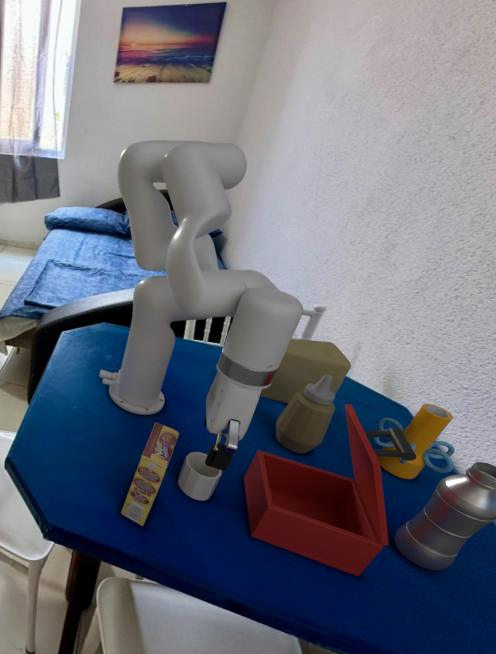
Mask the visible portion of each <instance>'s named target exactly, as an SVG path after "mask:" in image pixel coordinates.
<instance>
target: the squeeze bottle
mask: <svg viewBox="0 0 496 654" xmlns="http://www.w3.org/2000/svg"><path fill="white" fill-rule="evenodd" d="M332 378H333V377H332V376H331V375H328V374H326V375H324V376H323V377H322V378H321V379H320V380H319V381H318V382H317V383H316V384H308V385H307V386H306V388H305V390H301V391H298V392H297V393H296V394H295V395H294V397H293V398H292V400H291V401H290V402H289V404H288V403H287V405H286V406H285V408H284V410H282V412H281V413H280V415H279V416H278V418H277V419H276V421H275V437H276V440H277V441H278V443H279V444H280V445H282V446H283V447H284V448H285V449H287V450H289V451H290V452H293V453H296V454H306V453H308V452H310V451H312V450H313V449H315V448H316V447H318V446H320V445H321V444H322V443H323V441H324V437H325V435H326V432H327V430H328V428H329V425H330V424H331V420H332V418H333V415H334V413H335V410H336V405H334V403H333V402H334V400H335V398H336V394H335V395H334V393H333V392H332V391H331V390H330V388H331V383H332Z"/></svg>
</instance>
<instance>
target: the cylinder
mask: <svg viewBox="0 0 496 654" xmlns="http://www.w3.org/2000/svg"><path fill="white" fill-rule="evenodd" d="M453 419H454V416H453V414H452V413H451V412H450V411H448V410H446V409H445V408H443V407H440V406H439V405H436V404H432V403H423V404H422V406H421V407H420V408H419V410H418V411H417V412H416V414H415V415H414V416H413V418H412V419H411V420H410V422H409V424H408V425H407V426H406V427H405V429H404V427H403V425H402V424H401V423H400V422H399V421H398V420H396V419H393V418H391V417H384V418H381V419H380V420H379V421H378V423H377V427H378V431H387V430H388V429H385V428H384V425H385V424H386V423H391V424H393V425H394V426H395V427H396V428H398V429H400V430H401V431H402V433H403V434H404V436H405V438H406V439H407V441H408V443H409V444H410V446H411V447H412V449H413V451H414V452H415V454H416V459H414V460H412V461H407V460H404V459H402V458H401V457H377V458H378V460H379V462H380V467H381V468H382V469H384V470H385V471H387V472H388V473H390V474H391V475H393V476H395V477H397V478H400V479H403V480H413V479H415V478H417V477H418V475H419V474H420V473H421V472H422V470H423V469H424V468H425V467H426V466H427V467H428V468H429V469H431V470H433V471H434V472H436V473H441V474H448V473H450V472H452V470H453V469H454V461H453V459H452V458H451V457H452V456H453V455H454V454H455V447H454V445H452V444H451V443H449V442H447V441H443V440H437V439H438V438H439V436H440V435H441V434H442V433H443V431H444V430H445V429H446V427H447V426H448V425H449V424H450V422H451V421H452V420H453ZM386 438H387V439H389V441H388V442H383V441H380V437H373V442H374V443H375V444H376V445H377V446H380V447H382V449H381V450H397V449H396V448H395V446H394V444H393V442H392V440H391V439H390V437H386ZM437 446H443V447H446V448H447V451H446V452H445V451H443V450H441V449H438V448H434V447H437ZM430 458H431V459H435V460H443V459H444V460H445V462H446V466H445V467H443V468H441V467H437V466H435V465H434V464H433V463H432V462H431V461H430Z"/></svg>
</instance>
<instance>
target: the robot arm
mask: <svg viewBox="0 0 496 654" xmlns="http://www.w3.org/2000/svg"><path fill="white" fill-rule="evenodd" d="M247 162H248V161H247V158H246V155H245V152H244V151H243V150H242V149H241V148H240V147H239V146H238V145H237V144H234V143H231V142H210V141H199V140H165V139H164V140H162V139H161V140H160V139H159V140H158V139H154V140H153V139H151V140H141V141H137V142H134V143H132V144H131V143H130V144H129V145H128V146H127V147H125V149H124V150H123V151H122V152H121V154H120V157H119V160H118V164H117V184H118V185H117V186H118V190H119V192H120V196H121V199H122V201H123V203H124V206H125V209H126V212H127V215H128V220H129V222H128V223H129V229H130V235H131V241H132V247H133V253H134V259H135V262H136V264H137V266H138V267H139V269H141V270H143V271H150V272H166V274H165V275H153V276H149V277H146V278H143V279H142V280H140V281H139V282H138V283H137V284H136V286H135V287H134V290H133V295H132V296H133V297H132V316H131V317H132V318H131V323H130V328H129V332H128V336H127V340H126V345H125V349H124V354H123V357H122V363H121V365H120V366H121V368H120V369H118V372H111V371H108V370H104V369H100V371H99V375H98V377H99V378H102V383H101V384H103V385H107V386H109V387H108V394H109V397H110V398H111V399H112V401H113V402H114V403H115V404H116V405H117V406H119V408H121V409H123V410H125V411H126V412H127V411H128V412H129V413H133V414H135V415H143V416H147V415H154V414H157V413H159V412H160V411H161V410H163V407H164V405H165V403H166V402H165V400H166V399H165V395H164V394H163V392H162V390H161V389H162V387H163V384H164V380H165V377H166V373H167V371H168V367H169V364H170V361H171V357H172V355H173V351H174V348H175V344H176V335H175V333H174V330H173V329H172V327H171V324H172V323H173V322H181V321H198V320H199V321H201V320H208V319H209V320H210V319H212V318H226V317H228V318H232V322H231V324H230V326H229V329H228V332H227V335H226V337H225V340H224V341H225V342H224V344H223V346H222V349H221V352H220V355H219V357H218V360H217V363H216V365H215V366H216V370H217V371H216V374H215V376H214V378H213V381H212V383H211V385H210V388H209V390H208V392H207V395H206V398H205V418H204V421H203V426H204V427H206V428H207V431H208V432H209V433H210V434H214V435H215V437H214V442H213V445H210V448H209V450H208V453H207V457H206V460H205V465H207V466H210V467H213V468H216V469H219V470H222V472H227V471H228V470H229V467H230V465H231V462H232V460H233V458H234V456H235V455H236V452H237V450H238V445H239V441H242V440H243V439H244V437H245V435H246V433H247V431H248V429H249V426H250V424H251V422H252V419H253V417H254V413H255V411H256V408H257V405H258V403H259V400H260V397H261V396H260V394H261V391H262V389H266V388H268V387H270V385H271V383H272V381H273V379H274V377H275V375H276V372H277V370H278V368H279V365H280V363H281V361H282V359H283V357H284V354H285V352H286V350H287V348H288V345H289V343H290V341H291V339H293V336H294V334H295V332H296V330H297V328H298V326H299V324H300V321H301V319H302V316H303V314H304V307H303V303H302V302H301V301H300V300H299V299H298V298H297V297H295V296H294V295H292V294H290V293H288V292H285V291H283V290H280V289H279V288H278V286H276V285H275V283H273V281H271V279H270V278H268V276H266V275H265V274H263V273H262V272H261V271H258V270H254V269H220V268H219V263H218V257H217V252H216V247H215V243H214V240H213V238H212V237H211V235H210V233H212V232H215V231H216V230H218V229H220V228H221V227H222V226H224V225H225V224H226V223H227V222H228V221H229V220H230V219H231V218H232V214H233V206H232V204H231V202H230V199H229V196H228V194H227V190H231V189H234V188H235V187H237V186H238V185H240V183H241V182H242V181H243V180H244V177H245V176H246V172H247V167H248V163H247ZM157 183H159V184H160V183H161V184H162V183H163V184H165V187H166V190H167V193H168V196H169V199H170V202H171V205H172V209H173V211H174V215H175V219H176V221H177V224H178V226H177V225H175V223H174V221H173V217H172V211H171V207H170V204H169V202H168V200H167V199H166V197H165V196H164V195H163V193H162V192H161V191H160V190H158V189H157V188H156V187H155V185H154V184H157ZM224 430H227V431H226V432H224ZM222 437H223V438H226V440H225V442H224V443H221V439H222Z"/></svg>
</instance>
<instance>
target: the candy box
mask: <svg viewBox="0 0 496 654" xmlns="http://www.w3.org/2000/svg"><path fill="white" fill-rule="evenodd" d="M179 436H180V432H179V431H178V430H176V429H174V428H171V427H169V426H167V425H164V424H161V423H159V422H154V425H153V427H152V429H151V432H150V434H149V438H148V439H147V442H146V444H145V447H144V449H143V452H142V453H141V456H140V459H139V461H138V464H137V467H136V470H135V472H134V475H133V478H132V481H131V484H130V486H129V489H128V492H127V495H126V498H125V501H124V503H123V506H122V509H121V511H120V514H121V515H122V516H124V517H126V518H128V519H129V520H131V521H133V522H134V523H136V524H137V525H139V526H141V527H144V525H145V523H146V521H147V518H148V516H149V513H150V512H151V509H152V506H153V504H154V502H155V499H156V497H157V494H158V493H159V490H160V487H161V485H162V483H163V480H164V477H165V476H166V471H167V470H168V467H169V464H170V462H171V459H172V456H173V453H174V450H175V447H176V444H177V441H178V439H179Z"/></svg>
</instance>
